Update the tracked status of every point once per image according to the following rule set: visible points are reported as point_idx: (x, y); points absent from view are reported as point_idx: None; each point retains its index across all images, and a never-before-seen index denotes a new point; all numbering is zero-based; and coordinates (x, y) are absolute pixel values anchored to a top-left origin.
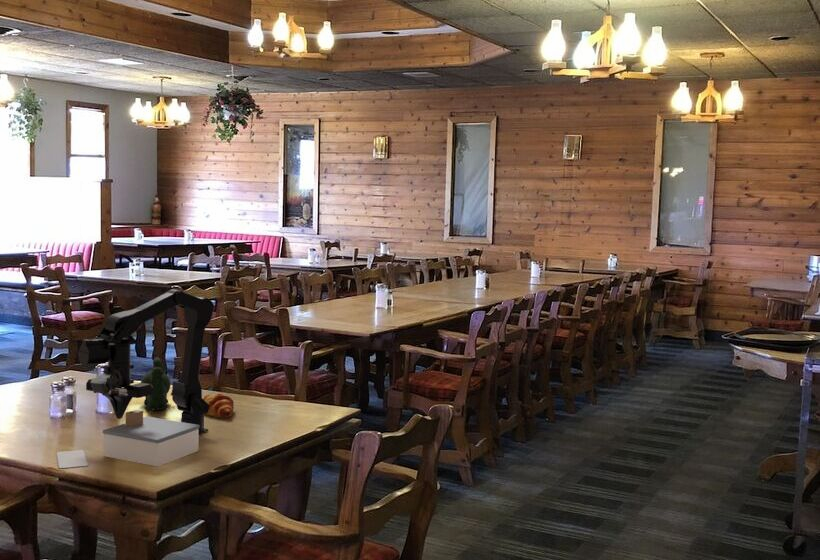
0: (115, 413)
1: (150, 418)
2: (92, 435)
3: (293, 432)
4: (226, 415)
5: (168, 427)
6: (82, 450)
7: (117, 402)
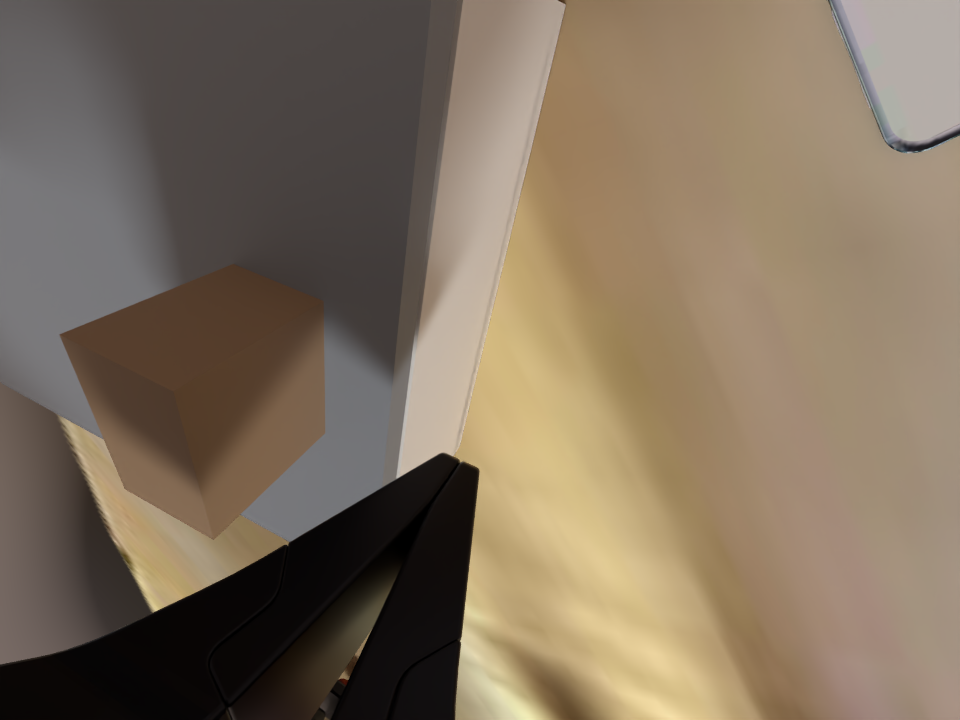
0: (464, 521)
1: None
2: (920, 593)
3: (129, 522)
4: (343, 680)
5: (38, 301)
6: (908, 120)
7: (236, 674)
